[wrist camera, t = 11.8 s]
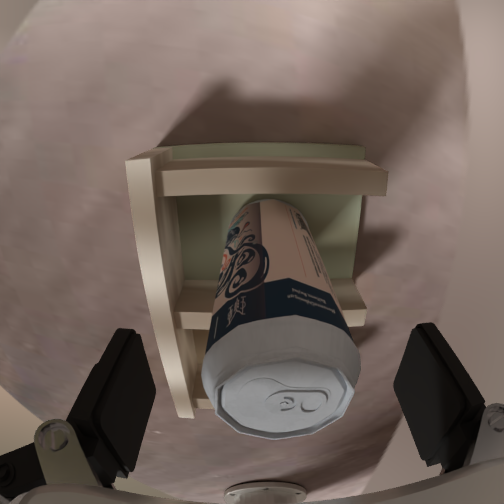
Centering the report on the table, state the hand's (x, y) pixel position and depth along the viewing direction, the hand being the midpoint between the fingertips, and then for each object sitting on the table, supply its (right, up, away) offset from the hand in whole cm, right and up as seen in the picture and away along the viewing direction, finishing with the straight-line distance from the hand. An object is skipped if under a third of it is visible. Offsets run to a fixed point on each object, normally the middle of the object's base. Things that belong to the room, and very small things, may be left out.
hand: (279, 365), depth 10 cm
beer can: (0, +5, +9) cm, 10 cm away
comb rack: (0, +2, +11) cm, 11 cm away
